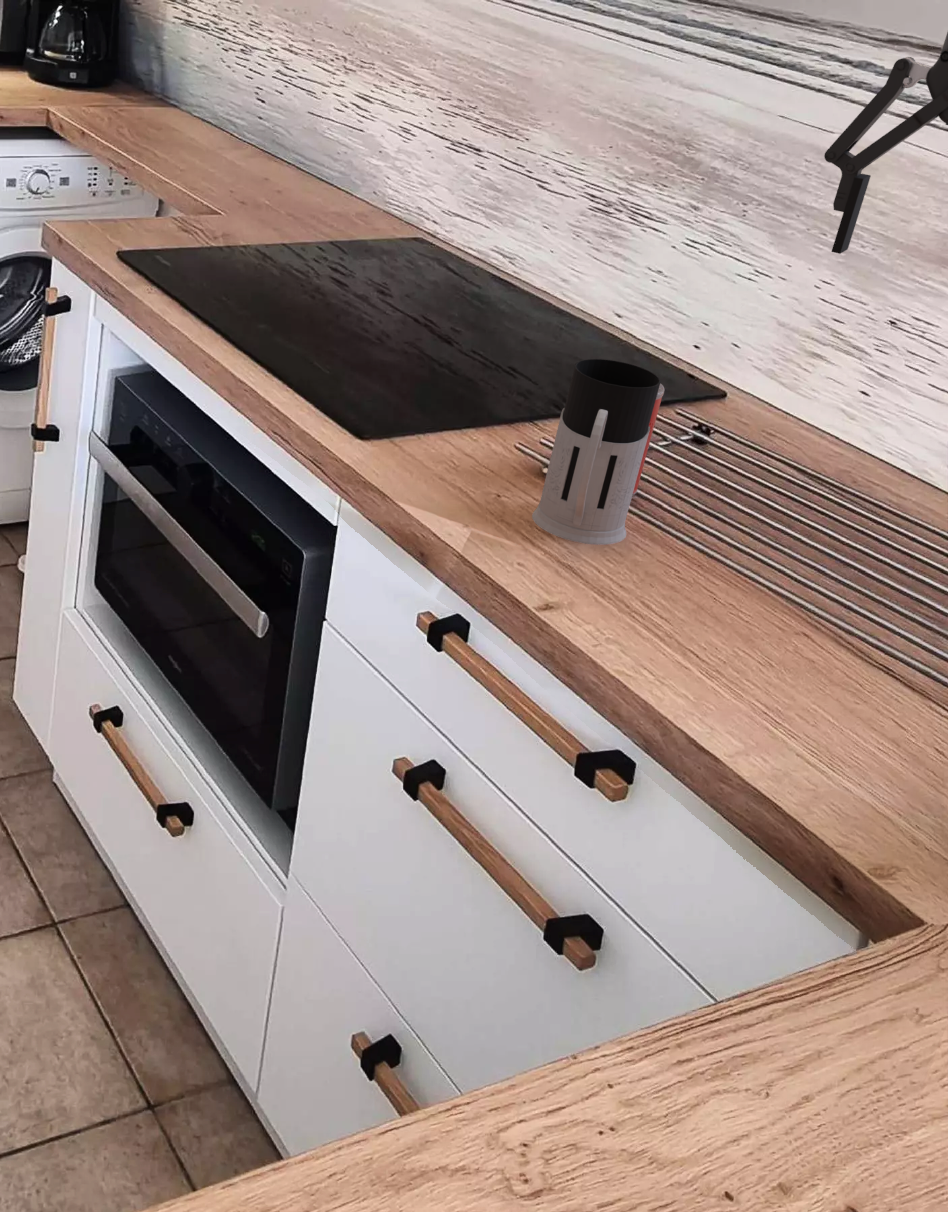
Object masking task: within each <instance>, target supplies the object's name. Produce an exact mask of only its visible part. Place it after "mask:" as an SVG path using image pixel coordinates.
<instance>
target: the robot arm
mask: <svg viewBox="0 0 948 1212" xmlns="http://www.w3.org/2000/svg"><path fill="white" fill-rule="evenodd" d="M920 80H925V83H926V86H927V90H928V92H929V94H930V97H931V99H932V100H931V101H929V102H928V103H927V104H925V105H924V106H922V107H921V108H920V109H918V110H917V111H915V112H914V113H913V114H912V115H910V116H909V117H907V118H906V119H905V120H903V121H902V122H901V123H899V124H898V125H896V126H895V127H893V128H892V129H890V130H889V131H888V132H886V133H885V134H883V136H881V137H879V138H878V139H876V140H875V141H874V142H873V143H871V144H870V145H868V146H866V148H864V149H863V150H861V151H860V152H858V153H857V154H853V153H851V152H850V151H851V150H852V149H853V148H854V147H855V146H856V145H857V144H858V142H859V141H860V140H861V139H862V138H863V137H864V135H866V133H867V132H868V131H869V130H870V129H871V128H872V127H873V126H874V125H875V123H876V122H877V121H878V120H879V119H880V118H881V117H882V116H883V114H885V112H886V111H887V110H888V109H889V108H890V107H891V105H892V104H893V103H894V102H895V101H896V100H897V99H898V98H899V97H900V95H901V94H902V93H903V91H904V90H905V89H909V88H912V87H915V86H916V85H917V84H918V82H919V81H920ZM937 118H939V119H940V120H941V121H942V122H943V123H945V126H948V31H947V32H946V35H945V39H944V41H943V45H942V47H941V50H940V54H939V57H938V59H937V60H936V61H935V63H934V64H933V65H932V66H931V65H928V64H926V63H921V62H918V61H916V60H915V59H914V57H912V56H906V57H903V58H899V59H898V60H896V61H895V62H894V64H893V66H892V69H891V71H890V73H889V76H888V77H887V79H886V82H885V84H884V85H883V86H882V87H881V88H880V90H879V91H878V92H877V94H875V96H874V97H873V98H872V99H870V101H869V102H868V104H866V106H865V107H864V108H863V109H862V110H861V111H860V112H859V113H858V115H857V116H856V117H855V118H854V119H853V120H852V121H851V123H850V124H849V125H848V126H847V127H846V128H845V129H844V131H842V133H840V135H839V136H838V137H837V139H836V140H835V141H834V142H833V143H832V144H831V145H830V146H829V148H827V150H826V151H825V153H824V156H823V157H824V160H825V161H826V162H827V163H831V164H833V165H834V166H836V167H837V168H838V169H839V171H840V172H841V176H840V181H839V184H838V187H837V190H836V193H835V197H834V200H833V203H832V205H833V211H836V212H841V213H842V216H841V219H840V222H839V225H838V229H837V232H836V235H835V238H834V242H833V244H832V248H831V253H834V254H838V255H840V254H842V253H844V252H846V251H847V250H849V247H850V244H851V241H852V237H853V234H854V230H855V228H856V224H857V222H858V218H859V214H860V212H861V208H862V205H863V202H864V198H865V195H866V193H867V189H868V186H869V183H870V180H871V174H867V173H862V171H864V170H865V168H867V167H868V166H870V165H871V164H872V163H874V162H875V161H877V160H878V159H880V158H881V157H883V156H884V155H885V154H887V153H888V152H890V151H891V150H893V149H894V148H895V147H897V146H898V145H900V144H901V143H903V142H904V141H905V140H907V139H908V138H909V137H911V136H912V135H914V134H915V133H917V132H918V131H920V130H921V129H922V128H924V127H925V126H927V125H928V124H930V123H931V122H933V121H935V120H936V119H937Z"/></svg>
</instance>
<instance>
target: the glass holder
mask: <svg viewBox="0 0 948 1212" xmlns="http://www.w3.org/2000/svg"><path fill="white" fill-rule="evenodd" d="M660 384H661V378H660V377H659V376H658V375H657V374H655V373H654V372H652V371H651V370H648V369H646V368H643V367H641V366H638V365H635V364H631V363H628V362H623V361H618V360H613V359H603V358H588V359H587V358H586V359H582V360H579V361H577V362H576V363H575V364H574V368H573V372H572V376H571V379H570V384H569V388H568V391H567V392H568V393H567V396H566V401H565V405H564V407H563V408H562V410H561V413H560V417H559V421H558V425H557V429H556V434H555V438H554V441H553V447H552V450H551V454H550V458H549V463H548V466H547V470H546V475H545V480H544V483H543V487H542V492H541V496H540V500H539V503H538V505H537V507H536V508H535V509H534V511H533V512H532V513H531V519H532V520H533V522H534V524H535V525H537V526H538V527H539V528H541V529H542V530H543V531H546V533H548V534H551V535H553V536H555V537H558V538H561V539H563V540H566V541H570V542H575V543H578V544H579V543H580V544H584V545H595V546H605V545H614V544H618V543H620V542H622V541H624V540H625V539H626V537H627V530H626V519H627V517H628V512H629V509H630V507H631V506H630V505H631V502H632V494H633V491H634V487H635V483H636V480H637V476H638V472H639V468H640V465H641V461H642V457H643V454H644V450H645V446H646V442H647V439H648V435H649V431H650V427H649V423H650V420H651V416H652V412H653V409H654V405H655V401H656V397H657V394H658V390H659V386H660Z"/></svg>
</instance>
